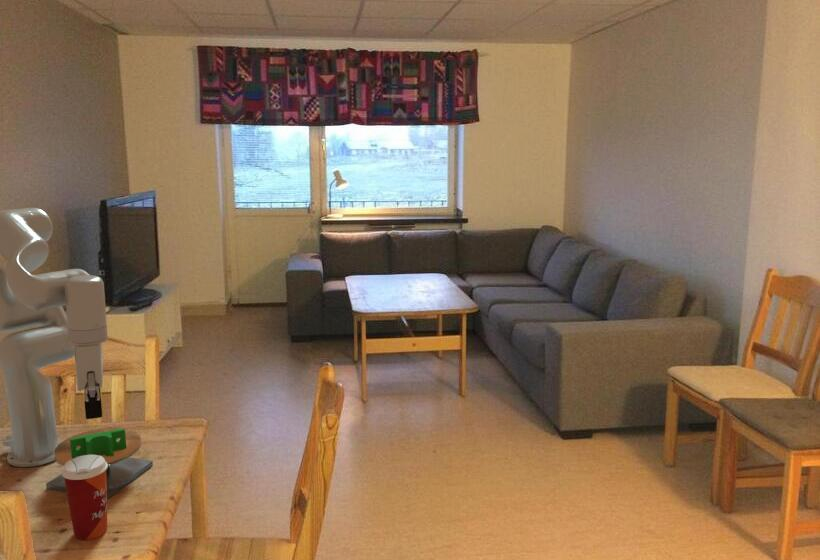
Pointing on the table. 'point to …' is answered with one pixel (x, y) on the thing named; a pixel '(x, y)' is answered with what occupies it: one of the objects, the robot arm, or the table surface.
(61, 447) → the bronze disc on slab
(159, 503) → the table surface
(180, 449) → the table surface
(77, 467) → the coffee cup
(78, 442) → the pipe clamp
